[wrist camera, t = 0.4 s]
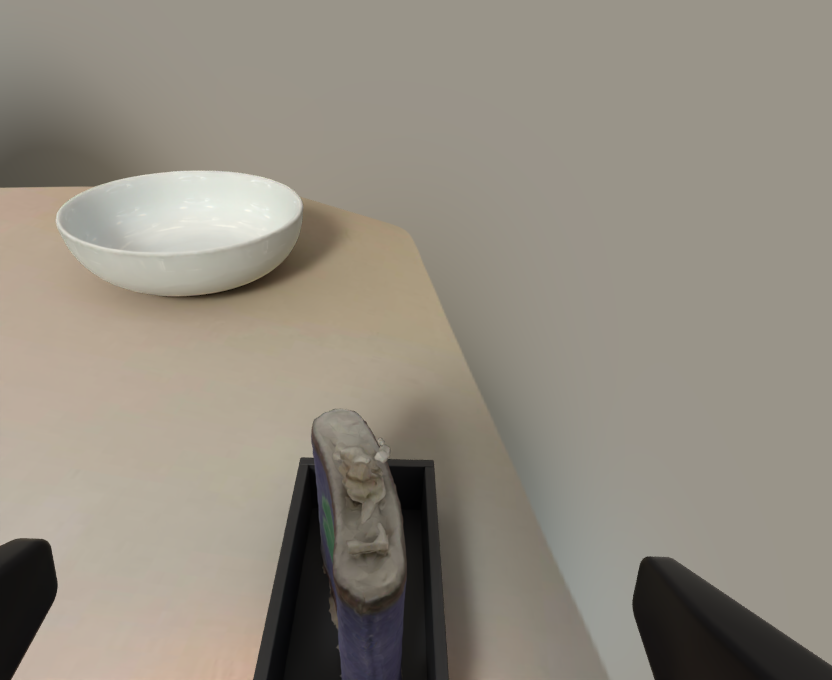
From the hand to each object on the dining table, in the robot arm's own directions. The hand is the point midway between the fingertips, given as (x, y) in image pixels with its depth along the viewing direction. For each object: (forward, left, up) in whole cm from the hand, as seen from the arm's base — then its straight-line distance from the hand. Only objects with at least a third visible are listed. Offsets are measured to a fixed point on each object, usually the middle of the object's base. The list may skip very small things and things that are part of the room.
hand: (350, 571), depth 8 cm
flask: (+8, +1, -17) cm, 19 cm away
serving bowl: (+42, +20, -17) cm, 50 cm away
